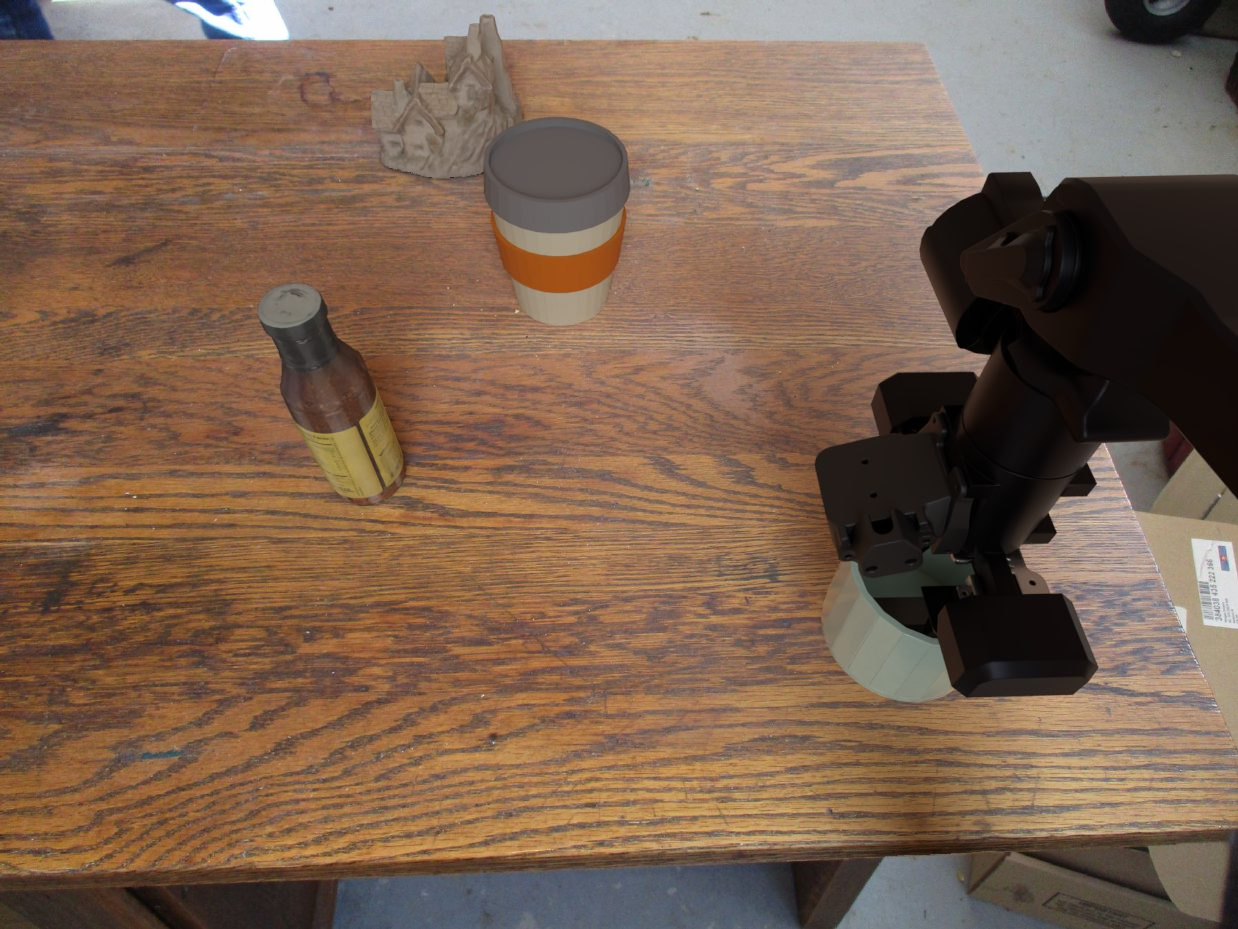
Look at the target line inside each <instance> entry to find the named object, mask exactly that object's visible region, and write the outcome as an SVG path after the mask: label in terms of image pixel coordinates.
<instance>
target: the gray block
mask: <svg viewBox="0 0 1238 929" xmlns="http://www.w3.org/2000/svg"><path fill="white" fill-rule="evenodd" d="M873 599H874V600H875V601H876V602H877V604H878V605H879V606H880V607H881V608H882V610H883V611H884V612H885V613H887V614H888V615H890V616H891V617H892V618H894V619H895V620H897V621H898V622H899V623H901V624H902V625H903V626H905V627H906V628H909V629H911V630H914V631H916V632H919V633H921V634H924V632H923V630H924V627H925V623H926V621H927V618H928V616H929V615H928V611H927V608H926V604H925V601H924V597H874V598H873ZM931 638H937V637H931Z"/></svg>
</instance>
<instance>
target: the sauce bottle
mask: <svg viewBox="0 0 1238 929" xmlns="http://www.w3.org/2000/svg"><path fill="white" fill-rule="evenodd" d="M256 314H257V317H258V320H259V322H260V325H261V327H262V330H263V331H264V332H265V333H266V334H267V335H268V337H270V338H271V340H272V342H273V343H274V346H275V347H276V350H277V351H278V354H277V355H278V356H279V358H280V362H281V376H280V383H279V391H280V396H281V398H282V399H283V401H284V403H285V405H286V408H287V409H288V412H289V414H290V417H291V419H292V420H293V422H294V424H295V426H296V427H297V429H298V431H299V433H300V436H301V437H302V439H303V441H304V442H305V444H306V446H307V448H308V450H309V451H310V453H311V455H312V457H313V458H314V461H315V462H316V464H317V465H318V467H319V469H320V471H321V472H322V474H323V477H324V478H325V480H326V482H327V483H328V485H329V487H330V488H331V489H332V490H333V491H334V493H335V494H336V495H337V496H338V497H340V498H341V499H343V500H345V501H346V502H348V503H351V504H355V505H357V506H368V505H374V504H377V503H379V502H383V501H384V500H387V499H389V498H391V497H392V496H394V494H396V492H397V491H398V490H399V489H400V488H401V485H402V483H403V482H404V480H405V476H406V472H407V469H406V468H407V467H406V464H405V460H404V454H403V450H402V447H401V445H400V442H399V440H398V437H397V435H396V433H395V430H394V427H393V425H392V423H391V420H390V418H389V415H388V413H387V410H386V408H385V405H384V403H383V400H382V397H381V395H380V393H379V390H378V386H377V385H376V382H375V380H374V378H373V377H372V376H371V374H370V371H369V369H368V366H367V364H366V362H365V360H364V358H363V355H362V354H361V352H360V351H359V350H358V349H355V348H353V347H352V346H351V345H349V344H348V343H347V342H345V341H344V340H342V339H340V338H339V337H338V335H337V333H335V331H334V329H333V327H332V324H331V322H330V320H329V317H328V316H329V315H328V314H329V309H328V305H327V303H326V302H325V300H324V298H323V295H322V294H321V293H320V291H319V290H318V289H317V288H316V287H314V286H313V285H310V284H308V283H303V282H292V283H285V284H281V285H277V286H275V287H272V288H271V289H269V291H267V292H266V293H265V294H264V295H263V296H262V297H261V299H260V300H259V301H258V304H257V309H256Z"/></svg>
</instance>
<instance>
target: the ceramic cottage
mask: <svg viewBox="0 0 1238 929" xmlns="http://www.w3.org/2000/svg"><path fill="white" fill-rule="evenodd" d="M498 30H499V29H498V27H497V23H496V16H494V14H487V13H483V14H481V15H480V16H479V22H478V23H473V22H472V23H469V24H468V31H467V35H463V36H462V35H461V36H460V35H459V36H458V35H456V36H455V35H445V36H443V42H444V53H445V54H444V55H445V71H446V74H445V75H444V81H441V82H438V81H437V80H436V79H435V78H434V76H433V75H432V74H431V73H430V72H429V70H427V69H426V68H425V67H424V65H423V64H422V62H420V61H416V62H415V64H414V66H413V67H412V71H411V72H410V74H409V75H408V81H407V82H406V80H405V79H404V78H403V77H401V78H393V79H392V89H391V90H390V89H380V88H377V87H374V88H373V89H372V90H371V91H370V93H371V95H370V104H371V105H370V107H371V108H370V111H371V127H372V129H371V130H373V131H374V132H376V134H377V136H378V139H379V141H380V143H381V146H380V152H379V159H380V158H381V162H382V163H383V164H384V165H385V166H386V167H387V166H388V167H389V168H392V169H393V170H394V171H397V170H398V171H400V170H401V171H400V172H403V171H407V172H411V173H410V174H412V172H413V173H415V174H414V175H416V174H417V175H418V176H419V175H422V176H421V177H425V176H427V177H432V178H431V179H433V178H434V179H436V178H437V179H451V178H450V177H454V178H460V177H461V178H464V177H465V178H466V177H468V176H469V177H471V176H470V175H475V176H477V175H476V174H479V173H481V172H484V169H483V162H484V153H485V151H486V148H487V146H488V145H489V144H490V142H491V141H492V140H493V139H494V138H495V137H496V136H497V135H498V134H499V133H501V132H502V131H504V130H506V129H507V128H509V127H511V126H513V125H516V124H518V123H521V122H522V120H523V121H524V113H523V110H522V106H521V102H520V98H519V96H518V95H517V94H516V93H515V92H514V87H513V83H512V79H511V78H512V77H511V75H510V73H509V71H508V69H507V68H506V65H505V61H504V48H503V41H502V38H501V36H500V34H499V31H498ZM381 162H380V163H381ZM382 163H381V164H382ZM383 164H382V165H383ZM384 165H383V166H384ZM385 166H384V167H385ZM388 167H387V168H388ZM389 168H388V169H389ZM395 169H396V170H395ZM402 170H403V171H402ZM479 175H480V174H479Z"/></svg>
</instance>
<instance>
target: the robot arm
mask: <svg viewBox="0 0 1238 929" xmlns="http://www.w3.org/2000/svg"><path fill="white" fill-rule="evenodd" d="M918 251H919V259H920V261H921V263H922V266H923V268H924V271H925V273H926V276H927V278H928V280H929V282H930V285H931V287H932V289H933V292H934V294H935V296H936V298H937V301H938V304H939V306H940V308H941V310H942V312H943V315H944V317H945V320H946V322H947V325H948V326H949V329H950V332H951V334H952V336H953V338H954V341H955V343H956V345H957V348H958V349H961V350H965V351H968V352H970V353H972V354H973V353H974V354H977V355H983V356H984V355H985V356H989V358H988V359H987V361H986V362H985V365H984V367H983V368H982V370H981V373H980V374H979V375H977V373H976V372H975V371H900V372H899V371H898V372H897V371H896V372H895V373H893V374H891V375H890V376H888V377H886V378H885V379H883V380H882V381H880V382H879V383H878V384H877V387H876V389H875V392H874V393H873V397H872V400H871V402H870V409H871V411H872V415H873V419H874V423H875V425H876V429H877V433H878V435H876V436H872V437H866V438H863V439H858V440H854V441H849V442H844V443H841V444H835V445H832V446H827V447H825V448H824V449H822V450H821V451H820V452H819V453H818V454H817V455H816V456H815V460H814V469H815V473H816V478H817V482H818V487H819V491H820V496H821V502H822V506H823V509H824V514H825V518H826V521H827V525H828V530H829V533H830V537H831V540H832V544H833V547H834V548H835V550H836V554H837V559H838V561H840V562H841V561H843V562H849V561H854V562H856V563H857V564H858V566H859V571H860V574H861V575H862V576H865V577H869V578H876V577H882V576H887V575H892V574H898V573H903V572H909V571H913V570H915V569H917V568H918V567H920V566H921V565H922V564H923V555H922V554H923V553H924V552H925V551H927V550H928V549H929V548H930V550H931V553H932V554H950V557H951V560H952V561H953V562H954V563H955V564H969V563H971V565H972V568H973V571H974V574H972V575H969V576H968V577H967V579H966V580H965V584H966V585H954V586H921V590H922V594H923V597H924V601H925V604H926V608H927V611H928V615H929V616H928V618H927V621H926V623H925V627H924V630H923V632H924V635H926V636H929V637H937V638H938V642H939V645H940V649H941V652H942V655H943V659H944V662H945V666H946V669H947V673H948V676H949V680H950V683H951V687H953V688H954V689H955V690H956V691H957V692H958V693H959V694H961V695H962V696H963V697H965V698H966V699H971V698H972V699H974V698H975V699H976V698H1011V697H1012V698H1013V697H1046V696H1047V697H1048V696H1049V697H1052V696H1074V695H1075V694H1076V693H1077V692H1079V690H1081V689H1082V688H1084V687H1085V686H1086V685H1087V684H1088V683H1089V682H1091V679H1092V678H1093V676H1094V675H1095V674H1096V672H1097V671H1098V669H1099V665H1098V662H1097V659H1096V658H1095V655H1094V652H1093V649H1092V647H1091V645H1090V642H1089V640H1088V638H1087V635H1086V632H1085V630H1084V628H1083V625H1082V622H1081V621H1080V617H1079V615H1078V613H1077V610H1076V607H1075V605H1074V603H1073V601H1072V600H1070V598H1068V597H1067V596H1066V595H1065V594H1064V593H1063V592H1051V591H1050V588H1049V586H1048V582H1047V581H1046V579H1045V578H1044V577H1043V576H1042V575H1041V574H1040V573H1038V572H1036V571H1033V570H1031V569H1030V568H1028V566H1027V564H1026V561H1025V559H1024V556H1023V553H1022V551H1021V548H1020V547H1021V546H1022V545H1049V544H1050V543H1051V542H1052V540H1053V539H1054V538H1055V536H1056V535H1057V534H1058V531H1057V529H1056V527H1055V524H1054V521H1053V520H1052V518H1051V515H1050V511H1051V510H1052V509H1053V508H1054V506H1055V505H1056V503H1057V502H1058V501H1059V500H1060V498H1077V497H1078V498H1079V497H1080V498H1084V497H1085V498H1086V497H1088V496H1089V495H1090V493H1091V492H1092V491H1093V490H1094V488H1095V487H1096V486H1097V485H1098V482H1097V480H1096V478H1095V475H1094V474H1093V471H1092V469H1091V467H1090V465H1089V463H1088V462H1089V461H1090V459H1092V457H1093V455H1094V454H1095V453H1096V452H1097V451H1098V449H1099V448H1100V447H1101V445H1102V444H1114V443H1115V444H1118V443H1142V442H1143V443H1145V442H1163V441H1166V440H1167V439H1168V438H1170V436H1171V431H1172V426H1171V423H1172V424H1173V426H1175V428H1176V429H1177V430H1178V432H1179V433H1181V435H1182V436H1183V437H1184V439H1185V440H1186V441H1187V442H1188V443H1189V445H1190V446H1191V447H1192V448H1193V449H1194V450H1195V452H1196V453H1197V454H1198V455H1199V457H1201V459H1202V460H1203V461H1204V462H1205V463H1206V465H1207V466H1208V467H1209V468H1210V469H1211V471H1213V473H1214V474H1215V476H1217V478H1218V479H1219V480H1220V481H1221V483H1223V485H1224V486H1225V487H1226V488H1227V490H1228V491H1229V492H1230V493H1231V494H1232V495H1233V496H1234V498H1235V499H1236V500H1237V501H1238V174H1236V173H1219V174H1217V173H1216V174H1172V175H1171V174H1170V175H1169V174H1168V175H1126V176H1125V175H1124V176H1123V175H1119V176H1115V175H1114V176H1075V177H1072V176H1071V177H1064V178H1063V179H1062V180H1061V181H1060V182H1059V183H1058V185H1057V186H1055V187H1054V188H1053V190H1051V192H1050V193H1049V194H1048V195H1047V197H1046V198H1045V199H1044V196H1043V193H1042V190H1041V187H1040V185H1039V183H1038V181H1037V180H1036V178H1035V176H1034V175H1033V173H1032V172H1031V171H1000V172H999V171H995V172H994V171H992V172H989V173H988V174H987V176H986V179H985V182H984V183H983V186H982V188H981V190H980V192H976V193H974V194H972V195H969V196H967V197H965V198H963V199H962V198H961V200H959V201H957V202H956V203H955V204H953V205H951V206H950V207H948V208H947V209H945V211H943V213H941V214H940V215H939V216H938V217H937V218H936V219H935V220H934V222H933V223H932V224H931V225H929V226H927V227H926V229H924V232H923V234H922V236H921V239H920V245H919V250H918ZM955 690H954V691H955Z"/></svg>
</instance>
